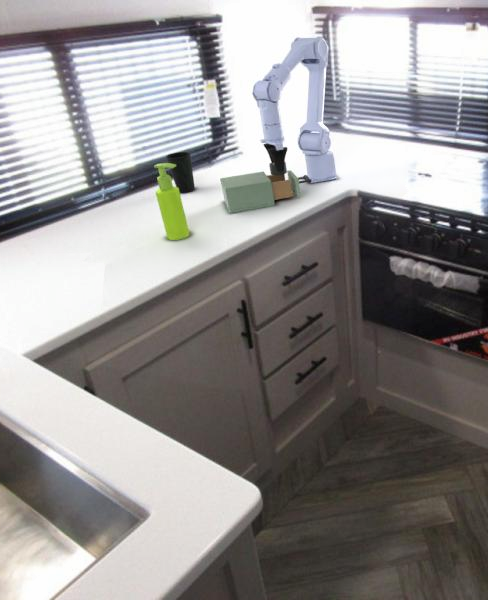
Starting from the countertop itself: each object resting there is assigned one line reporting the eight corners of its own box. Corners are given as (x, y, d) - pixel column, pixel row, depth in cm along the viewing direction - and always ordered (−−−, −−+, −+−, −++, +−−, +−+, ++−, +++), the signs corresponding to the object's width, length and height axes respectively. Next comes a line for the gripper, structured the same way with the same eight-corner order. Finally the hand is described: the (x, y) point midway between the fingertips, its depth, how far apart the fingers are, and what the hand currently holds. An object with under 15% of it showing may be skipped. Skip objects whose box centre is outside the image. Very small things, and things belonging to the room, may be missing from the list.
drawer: (306, 185, 187) (304, 168, 184) (315, 194, 179) (312, 176, 176) (255, 194, 182) (251, 176, 179) (261, 204, 174) (258, 185, 171)
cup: (201, 186, 196) (193, 151, 190) (192, 193, 189) (184, 157, 183) (180, 187, 197) (171, 152, 191) (170, 194, 190) (161, 158, 184)
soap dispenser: (186, 240, 154) (168, 167, 144) (163, 239, 155) (144, 167, 145) (196, 232, 159) (180, 160, 149) (174, 231, 160) (156, 160, 150)
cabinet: (267, 194, 184) (263, 171, 180) (274, 205, 175) (271, 181, 171) (224, 201, 180) (219, 178, 176) (230, 213, 171) (225, 188, 167)
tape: (285, 169, 179) (283, 160, 178) (288, 173, 175) (287, 164, 174) (269, 172, 178) (267, 162, 176) (272, 176, 174) (271, 166, 172)
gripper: (253, 120, 174) (261, 164, 181) (263, 129, 162) (270, 176, 169) (276, 117, 176) (282, 161, 183) (287, 126, 164) (293, 172, 171)
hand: (278, 168), depth 176 cm, fingers closed on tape, 5 cm apart
